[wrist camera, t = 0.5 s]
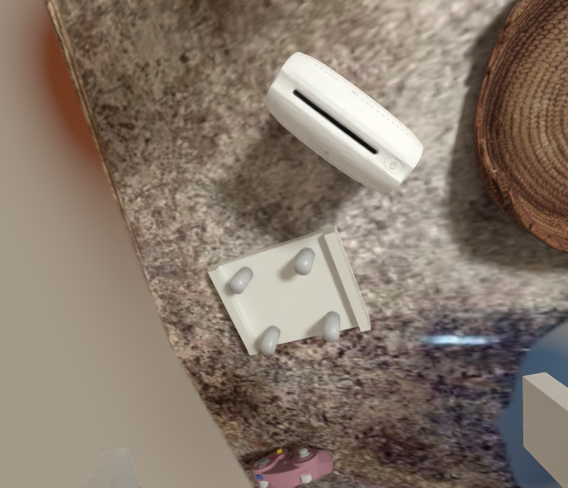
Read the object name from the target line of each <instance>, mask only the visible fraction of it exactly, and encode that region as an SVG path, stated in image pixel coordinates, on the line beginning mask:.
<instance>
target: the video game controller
mask: <svg viewBox="0 0 568 488" xmlns="http://www.w3.org/2000/svg"><path fill="white" fill-rule="evenodd" d="M293 455H294V457H293V459H291V460H289V459H290V455H289V452H288V449H287V448H279V449H277V450H276V451H275V452H273V453H272V454H270V455H268V456H266V457H263V458H261V459H259V460H258V461H256V462H255V463H254V464H253V465H252V472H253V475H254V478H255V480H256V481H257V483H258V484H259V486H260V488H266V487H269V488H294V487H295V486H298V485H300V484H303V483H308V482H310V481H313V480H315V479H317V478H318V477H320V476H321V475H325V474H329V473H330V472H331V471H332V469H333V460H332V457H331V455H330V454H329V453H328V452H327V451H326V450H316V449H311V448H309V445H307V444H305V445H300V446H298V447H296V448H295V449H294V450H293Z"/></svg>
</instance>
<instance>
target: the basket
mask: <svg viewBox="0 0 568 488" xmlns="http://www.w3.org/2000/svg"><path fill="white" fill-rule="evenodd" d="M473 143H474V151H475V158H476V164H477V168H478V170H479V173H480V176H481V178H482V181H483V183H484V185H485V188H486V190H487V192H488V194H489V196H490V198H491V199H492V201H493V202H494V204H495V205H496V206H497V207H498V209H499V210H500V211H501V212H502V213H503V214H504V215H505V216H507V217H508V218H509V219H510V220H512V221H513V222H514V223H515V224H517V225H518V226H519V227H521V228H522V229H524V230H525V231H527V232H528V233H530V234H531V235H533V236H534V237H536V238H537V239H539V240H540V241H542V242H543V243H545V244H546V245H548V246H549V247H551V248H554V249H557V250H560V251H564V252H568V0H518V2H517V3H516V4H515V5H514V7H513V8H512V10H511V12H510V14H509V16H508V17H507V19H506V21H505V23H504V25H503V27H502V29H501V31H500V34H499V36H498V39H497V43H496V46H495V48H494V50H493V52H492V54H491V56H490V58H489V61H488V63H487V66H486V72H485V74H484V77H483V80H482V83H481V87H480V91H479V96H478V100H477V105H476V110H475V114H474V125H473Z"/></svg>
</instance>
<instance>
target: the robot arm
mask: <svg viewBox="0 0 568 488" xmlns="http://www.w3.org/2000/svg"><path fill="white" fill-rule="evenodd" d="M523 432H524V433H523V435H524V437H523V438H524V447H525V448H526V449H527V450H528V451H529V452H530V453H531V454H532V456H533V457H534V458H535V459H536V460H537V461H538V462H539V463H540V464H541V465H542V466H543V467H544V468H545V469H546V470H547V471H548V472H549V473H550V474H551V475H552V476H553V478H554V479H555V480H556V481H557V482H558V483H559V484H560V485H561V486H562V487H563V488H568V388H567V387H566V386H564V385H563V384H561V383H560V382H558V381H557V380H555V379H554V378H553V377H551V376H550V375H548V374H547V373H539V374H533V375H527V376H523ZM84 488H141V485H140V482H139V479H138V475H137V472H136V469H135V465H134V462H133V459H132V455H131V452H130V449H129V447H123V448H118V449H113V450H106V451H105V452H104V454H103V456H102V457H101V459H100V461H99V462H98V464H97V465H96V467H95V469H94V471H93V472H92V474H91V476H90V477H89V479H88V481H87V482H86V484H85V486H84Z"/></svg>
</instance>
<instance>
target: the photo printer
mask: <svg viewBox="0 0 568 488" xmlns="http://www.w3.org/2000/svg"><path fill="white" fill-rule="evenodd" d="M266 107H267V108H268V110H269V111H270V112H271V114H272V115H273V116H274V117H275V119H276V120H277V121H278V122H279V123H280V124H281V125H282V126H284V127H285V128H286V129H287V130H288V131H289V132H291V133H292V134H293V135H294V136H295V137H296V138H298V139H299V140H300V141H301V142H303V143H304V144H305V145H306V146H308V147H309V148H310V149H312V150H313V151H314V152H315V153H317V154H318V155H319V156H321V157H322V158H323V159H325V160H326V161H328V162H329V163H330V164H332V165H333V166H335V167H336V168H337V169H339V170H340V171H342V172H343V173H345V174H346V175H348V176H349V177H351V178H352V179H354V180H355V181H357V182H359V183H361V184H363V185H364V186H366V187H368V188H370V189H372V190H375V191H377V192H380V193H382V194H387V193H390V192H391V191H393V190H394V189H395V188H397V187H398V186H399V185H400V184H401V183H402V182H403V181H404V180H405V179H406V178H407V177H408V176H409V175H410V173H411V172H412V171H413V169H414V168H415V166H416V164H417V163H418V161H419V159H420V157H421V155H422V153H423V145H422V144H421V143H420V141H419V140H418V138H417V137H416V136H415V135H414V134H413V133H412V132H411V131H410V130H409V129H408V128H407V127H406V126H405V125H404V124H402V123H401V122H400V121H399V120H398V119H396V118H395V117H394V116H393V115H392V114H390V113H389V112H388V111H387V110H386V109H384V108H383V107H382V106H381V105H379V104H378V103H377V102H375V101H374V100H373V99H372V98H370V97H369V96H368V95H366V94H365V93H364V92H362V91H361V90H360V89H358V88H357V87H356V86H354V85H353V84H352V83H350V82H349V81H347V80H346V79H345V78H343V77H342V76H340V75H339V74H338V73H336V72H335V71H333V70H332V69H330V68H329V67H327V66H326V65H324V64H323V63H321V62H320V61H318V60H316V59H314V58H313V57H310V56H308V55H306V54H303V53H300V52H297V53H295V54H293V55H292V56H291V57H290V58H289V59H288V60H287V61H286V62H285V64H284V65H283V66H282V67H281V68H280V70H279V71H278V72H277V73H276V75H275V77H274V79H273V81H272V84H271V86H270V88H269V91H268V94H267V98H266Z"/></svg>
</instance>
